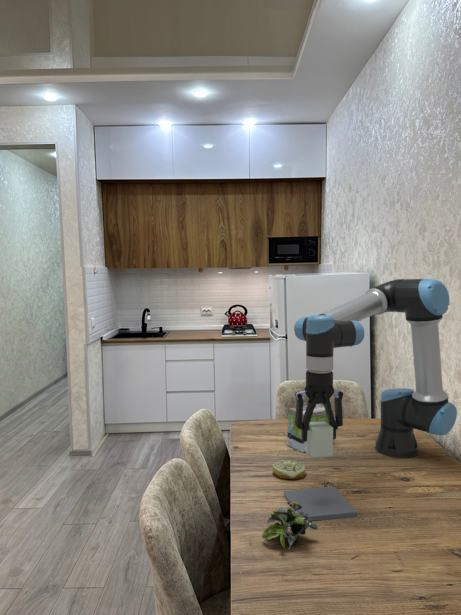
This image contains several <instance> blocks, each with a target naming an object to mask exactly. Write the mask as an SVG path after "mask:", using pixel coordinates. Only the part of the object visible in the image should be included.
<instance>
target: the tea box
mask: <svg viewBox="0 0 461 615" xmlns="http://www.w3.org/2000/svg"><path fill="white" fill-rule="evenodd" d="M306 408H307V405H303V417H302V421H303V418H304V415H305V411H306ZM332 412H333V413H334V409H333V408H332ZM295 417H296V406H295V407H291V408H288V409H287V433H286V434H287V437H286V438H287V439H286V440H287V442H286V444H287V446H289V447H291V448H293V449H294V450H296V451H299V452H300V453H306V452H305V451H304V447H305V441H303V440H302V438H301V435H302V430H301V429H299V428H297V427H296V426H295ZM323 421H325V422H326V423H328V424H329V421H328V418H327V414H326V411H325V408H324V405H323V404H316V407H315V408H314V411H313V414H312V417H311V420H310V422H323ZM329 425H330V424H329Z"/></svg>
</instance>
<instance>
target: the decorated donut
mask: <svg viewBox="0 0 461 615" xmlns="http://www.w3.org/2000/svg"><path fill="white" fill-rule="evenodd" d="M306 470H307V469H306V466H305V465H304V464H303V462H300V461H296V460H294V459H280V460H278V461H275V462H274V463H273V464H272V471H273V473H274V475H275V476H277V477H278V478H280V479H283V480H295V481H296V480H298V479H302V478H304V477H305V474H306Z"/></svg>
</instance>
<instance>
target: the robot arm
mask: <svg viewBox="0 0 461 615" xmlns="http://www.w3.org/2000/svg"><path fill="white" fill-rule="evenodd" d="M449 306H450V295H449V291H448V289H447V287H446V285H445V284H444V283H443V282H442V281H440V280H438V279H430V278H406V279H405V278H399V279H393V280H390V281H386V282H384V283H380V284H379V285H377V286H374V287H371V288H369V289H367V290H366V291H365V293H364V294H362V295H360V296H358V297H357V298H354V299H352V300H349V301H347V302H345V303H342V304H340V305H338V306H335V307H333V308H330V309H329V310H327V311H324V312H321V313H320V314H317V315H309V316H305V317H300V318H298V319H297V321H295V324H294V327H293V331H294V335H295V337H296V338H297V339H298V340H300V341H303V342H305V347H306V348H305V350H306V351H305V354H306V356H305V369H306V372H305V387H304V389H303V391H296V392H295V393H294V396H295V400H296V405H295V407H296V417H295V426H296V427H297V428H299V429H301V430H302V435H301V438H302V440H303V441H305V447H304V451H305V452H304V453H306V454H307V455H309V454H310V430H309V429H308V427H309V424H310V420H311V417H312V414H313V411H314V408H315V407H316V404H319V405H322V406H324V408H325V411H326V414H327V418H328V421H329V424H330V426H332V427H333V441H334V440H336V438H337V430H338V429H339V428H340V427H342V426H344V421H343V402H342V400H343V396H344V392H343V391H342V390H339V389H337V390H336V389H334V388H335V387H334V372H333V370H334V349H336V348H346V347H350V348H351V347H354V346H358V345H360V344H361V343H362V342H363V341H364V339H365V329H364V325H362V323H361V321H363V320H365V319H368V318H369V317H371V316H373V315H376V316H377V315H379V316H380V315H382V314H385V313H403V314H404V315H405V321H406V322H407V323H409V324H410V331H411V342H412V353H413V354H412V355H413V356H412V357H413V368H414V379H415V381H414V382H415V390H414V389H411V388H405V387H404V388H403V387H400V388H399V387H397V388H389V389H385V390H383V391H381V394H380V395H381V396H380V427H379V428H380V429H379V432H378V434H377V437H376V441H375V446H374V448H375V450H376V451H377V452H378V453H380V454H383V455H385V456H388V457H393V458H411V457H416V456H418V454H419V446H418V442H417V439H416V436H415V433H414V429H415V430H418V431H421V432H425V433H428V434H430V435H436V436H446V435H447V434H449V433H450V432H451V431H452V429H453V427H454V425H455V423H456V421H457V416H458V412H457V411H458V410H457V407H456V405H455V404H453V402H449V394H448V393H447V392H446V391H444V389H443V388H444V387H443V374H442V360H441V358H442V357H441V345H440V343H441V342H440V332H439V330H440V329H439V322H441V321H442V320H443V318H444V317H443V315H444V314H446V313H447V312H448V309H449ZM305 396H306V397H307V398H308V400H307V403H306V406H307V408H306V411H305V415H304V418H303V421H302V417H303V406H304V400H305ZM332 396H333V397H334V401H333V402H334V411H333V412H332V409H333V408H332V404H331V401H330V400H331V398H332Z"/></svg>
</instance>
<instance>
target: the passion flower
mask: <svg viewBox="0 0 461 615" xmlns="http://www.w3.org/2000/svg"><path fill="white" fill-rule="evenodd" d="M286 503H287V505H288V506H289V507H288V506H287V507H285V508H284V507H280V508H278V509H277V510H275V509H272V512H270V515H271V516H270V517H269V518H268V520H267V524H269V523H272V522H275V523H274V524H273V523H272V524H270V525H269V526H268V527H267V528H265V530H264V531H263V532H262V534H261V537H262V539H265V540H266V541H271V540H272V539H275V538H277V537H279V541H280V544H281V546H282V548H283V549H285V548H286V545H285V542H286V541H285V540H286V538H287V543H288V547H287V548H288V549H287V550H286V552H287V553H289V551H290V549H291V547H292V546H293V543H294V542H295V541H296V540H297V538H298V536H299V535H304V536H305V535H306V531H307V529H308V528H310V529H312V530H318V528H319V527H318V525H316V524H314V523H313V522H312V521H311V518H309V517H308V515H309V514H307V513H306V514H304V512H299V509H302V506H301V505H300V504H297V503H295V502H288V501H287V502H286ZM292 507H293V508H294V509H292ZM297 510H298V511H297ZM276 521H278V522H276ZM289 527H290V532H289V530H288V528H289Z"/></svg>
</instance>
